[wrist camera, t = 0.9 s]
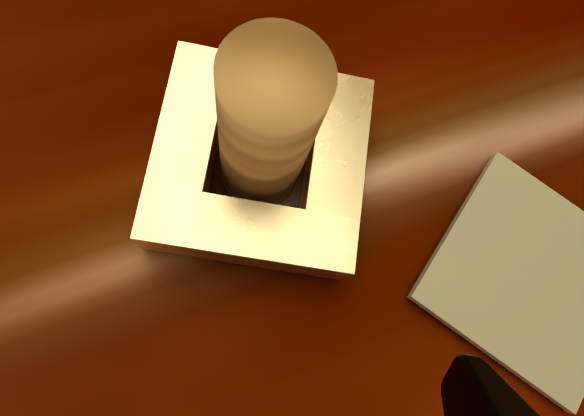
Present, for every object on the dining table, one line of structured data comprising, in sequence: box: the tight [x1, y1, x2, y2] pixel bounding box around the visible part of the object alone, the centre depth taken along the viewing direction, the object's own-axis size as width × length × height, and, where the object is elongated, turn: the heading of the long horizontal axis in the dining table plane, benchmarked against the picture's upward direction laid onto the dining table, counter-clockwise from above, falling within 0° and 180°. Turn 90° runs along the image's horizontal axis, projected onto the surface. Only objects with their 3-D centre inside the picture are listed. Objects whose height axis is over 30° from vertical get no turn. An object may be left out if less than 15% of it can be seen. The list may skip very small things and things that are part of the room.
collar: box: [130, 41, 374, 280], centre depth 22 cm, size 10×10×3 cm
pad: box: [407, 152, 584, 415], centre depth 24 cm, size 10×10×1 cm
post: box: [213, 18, 338, 205], centre depth 19 cm, size 4×4×10 cm
